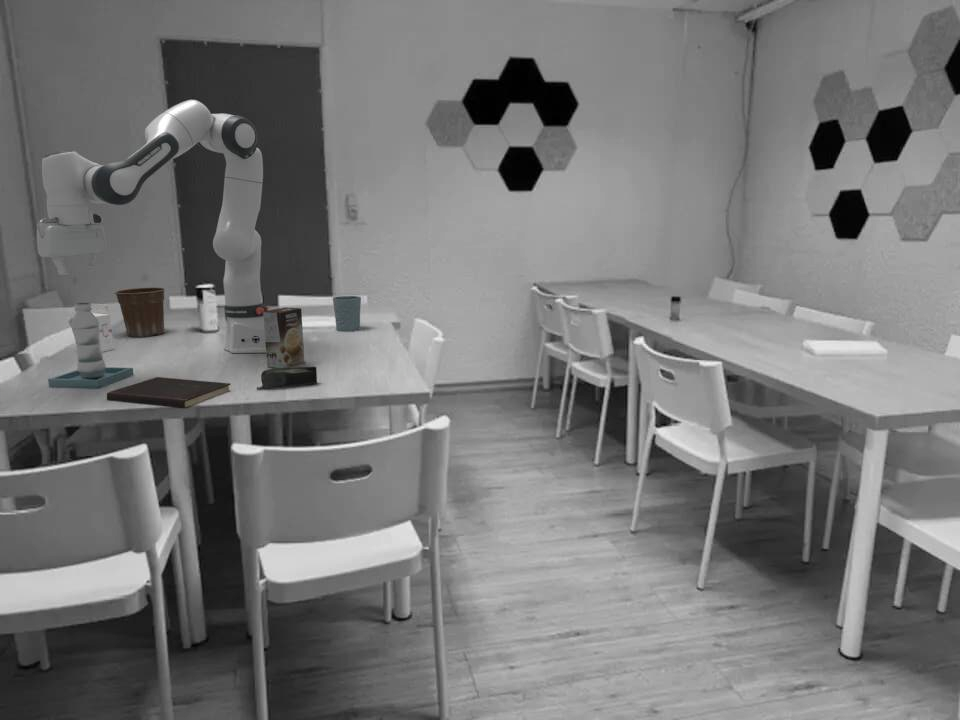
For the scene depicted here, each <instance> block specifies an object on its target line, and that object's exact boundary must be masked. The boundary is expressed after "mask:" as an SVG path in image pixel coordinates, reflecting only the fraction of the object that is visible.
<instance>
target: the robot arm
mask: <svg viewBox="0 0 960 720" xmlns="http://www.w3.org/2000/svg"><path fill="white" fill-rule="evenodd" d="M144 138H145V142H146V143H145V144H144V145H143V146H142V147H141V148H138V150H137V151H135V152H134V153H133V154H131V155H130V156H129V157H127V158H126V159H125V160H122V161H118V162H117V161H116V162H111V163H106V164H102V165H100V164H99V163H96V162H94V161H91V160H89V159H88V158H85V157H83V156H82V155H80V154H79V153H78V152H77V151H76V150H70V149H69V150H68V149H67V150H60V151H55V152H49V153H47V154H45V155H44V156H43V158H42V159H41V160H42V161H41V173H42V174H41V175H42V184H43V189H44V191H45V193H46V211H47V216H48V218H44V217H43V218H41V219H40V220H39V222H38V223H37V225H36V226H37V231H36V249H37V254H38V255H39V256H40V257H41V258H51V261H52V263H53V265H54V266H55V267H56V268H57V273H58V275H59V276H65V275H69V274H70V273H69V267H67V266H65V263H64V261H65V259H64V257H65V256H66V257H68V256H76V255H77V256H78V255H85V258H86V263H84V264H83V267H84V271H86V272H95V270H96V267H95V263H96V261H97V258H98V257H97V254H98V253H104V252H106V250H107V239H106V232H105V228H104V227H103V225H102V224H104V217H103V216H102V214H99V213H97V212H94V211H92V210H91V209H89V207H88V202H91V203H94V204H98V205H100V204H101V205H104V204H105V205H110V204H111V205H114V206H115V205H116V206H123V205H126V204H129V203H131V202H133V201H134V200H135V198H136V197H138V194H139V192H140V190H141V188H142V186H143V184H144V183H145V182H146V181H147V180H148V179H149V178H150V177H151V176H152V175H153V174H155V173H156V172H157V171H159V170H160V169H161V168H162V167H163V166H165V165H166V164H167V163H168V162H169V161H172V160H174V159H176V158H178V157H180V156H181V155H184V154H185V153H186V152H188V151H189V150H190V149H191V148H193V147H194V146H195V145H197V146H199V147H200V148H201V149H203V150H206V151H209V152H216V153H219V154H223V156H224V159H225V164H226V166H225V171H224V181H223V183H224V184H223V195H222V204H221V209H220V213H219V217H218V220H217V221H218V222H217V224H216V225H217V226H216V231H215V234H214V237H213V240H212V247H213V250H214V252H215V254H216V255H217V256H218V257H219V258H221V259H222V260H225V266H224V267H225V268H224V275H223V291H224V292H223V293H224V303H225V305H224V318H225V322H226V334H225V343H224V347H223V348H224V349H223V350H224V351H227V352H230V354H253V353H254V354H256V353H258V354H259V353H260V354H261V353H265V354H266V343H265V329H264V315H263V311H268V310H271V309H270V305H266V304H265V303H263V302H262V301H263V300H262V289H261V267H262V266H261V263H262V237H261V235H260V234H259V232H258V231H257V230H256V223H257V220H258V216H259V212H260V210H261V203H262V193H263V182H264V181H263V180H264V164H263V163H264V161H263V154H262V152H261V150H260V148H258V134H257V129H256V127H255V125H254V124H253V122H251V121H250V120H249V119H248V118H246V117H243V116H240V115H233V114H229V113H211V112H210V110H209V108H208V107H207V106H206V105H205V104H204V103H202V101H201V102H200V101H199V100H197V99H188V100H184V101H182V102H179V103H178V104H175V105H173V106H171V107H170V108H168V109H167V110H165V111H163V112H162V113H161V114H159V115H157V116H156V117H154V118H153V120H152V121H151V122H150V123H149V124H148V125H147V126H146V128H145V129H144Z"/></svg>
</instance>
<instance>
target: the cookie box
mask: <svg viewBox="0 0 960 720" xmlns="http://www.w3.org/2000/svg"><path fill="white" fill-rule="evenodd" d="M302 313H303V312H302V308H298V307H281V308H274V309H268V311H263V315H264V329H265V343H266V352H265V354H266V357H265V358H266V367H269V368H285V367H295V366H298V365H301V364H303V363H305V362H306V361H305V348H304V332H303V330H304V329H303V317H302V316H303V314H302Z"/></svg>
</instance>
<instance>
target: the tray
mask: <svg viewBox="0 0 960 720" xmlns="http://www.w3.org/2000/svg"><path fill="white" fill-rule="evenodd" d="M132 376H134V368H133V367H121V366H120V367H114V366H112V367H111V366H106V373H105V375H104V376H102V377H99V378H96V379H84V378H81V377H80V376H79V373H78V369H75V370H72V371H69V372H67V373H63V374H60V375H57V376H53V377H51V378H47V383H48V387H49V388H76V389H77V388H78V389H79V388H80V389H100V388H104V387H106V386H109V385H110V384H113V383H116V382H119V381H121V380H124V379H127V378H129V377H132Z"/></svg>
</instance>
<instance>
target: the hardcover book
mask: <svg viewBox="0 0 960 720" xmlns="http://www.w3.org/2000/svg"><path fill="white" fill-rule="evenodd" d="M231 384H232V383H230V382H218V381H217V382H216V381H208V380H207V381H206V380H197V379H186V378H185V379H183V378H170V377H160V376H156V377H153V378H149V379H146V380H143V381H139V382H137V383H132V384H130V385H127V386H123V387H120V388H117V389H113V390H110V391H107V393H106V400H107V401H111V402H113V401H114V402H121V403H122V402H123V403H131V404H132V403H133V404H140V405H141V404H142V405H151V406H159V407H160V406H161V407H170V408H181V409H186V408H188V407H191V406H192V405H195V404H198V403H201V402H203V401H206V400H208V399H211V398H214V397H217V396H219V395H222V394H224V393H226V392H230V385H231ZM231 386H232V385H231Z"/></svg>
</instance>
